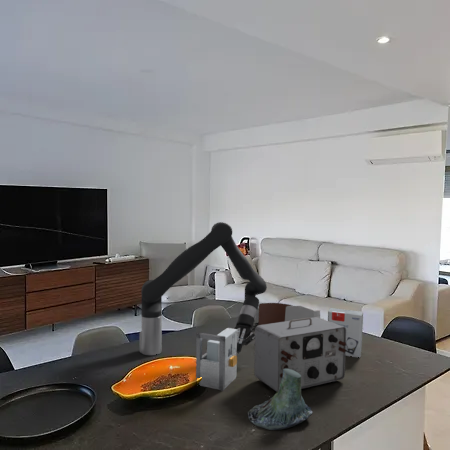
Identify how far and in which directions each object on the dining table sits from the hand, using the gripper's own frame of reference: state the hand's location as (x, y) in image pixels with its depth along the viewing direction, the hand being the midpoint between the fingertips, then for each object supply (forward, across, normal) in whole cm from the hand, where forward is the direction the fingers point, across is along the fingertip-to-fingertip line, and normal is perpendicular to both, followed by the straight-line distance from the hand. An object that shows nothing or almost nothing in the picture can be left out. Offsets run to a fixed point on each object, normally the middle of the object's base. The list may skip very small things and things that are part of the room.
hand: (236, 352), depth 185 cm
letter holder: (-41, -2, +50) cm, 64 cm away
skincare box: (+12, -2, -4) cm, 12 cm away
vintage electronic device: (+8, +30, 0) cm, 31 cm away
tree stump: (+29, +30, -21) cm, 46 cm away
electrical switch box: (-25, +19, +33) cm, 46 cm away
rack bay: (+17, 0, -10) cm, 19 cm away
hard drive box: (-20, +40, +29) cm, 53 cm away
